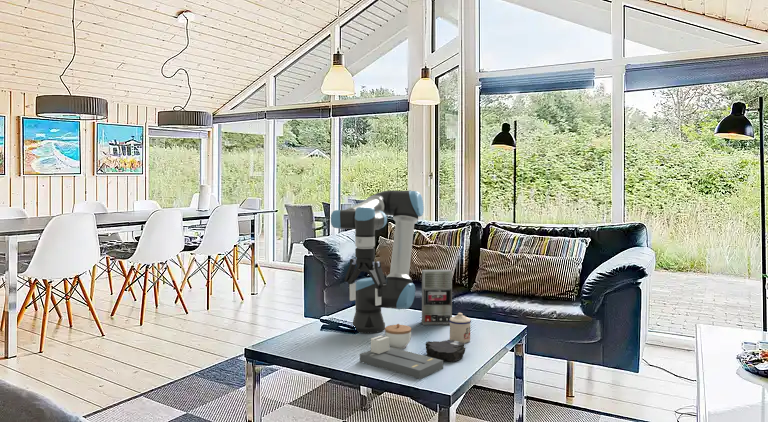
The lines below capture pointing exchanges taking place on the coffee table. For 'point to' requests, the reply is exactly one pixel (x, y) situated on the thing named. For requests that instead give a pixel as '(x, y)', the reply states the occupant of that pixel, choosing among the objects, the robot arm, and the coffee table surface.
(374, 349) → the fader knob
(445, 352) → the rock sample
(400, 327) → the lidded jar
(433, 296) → the cassette tape recorder
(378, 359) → the fader console
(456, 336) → the teacup with lid
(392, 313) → the coffee table surface
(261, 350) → the coffee table surface
